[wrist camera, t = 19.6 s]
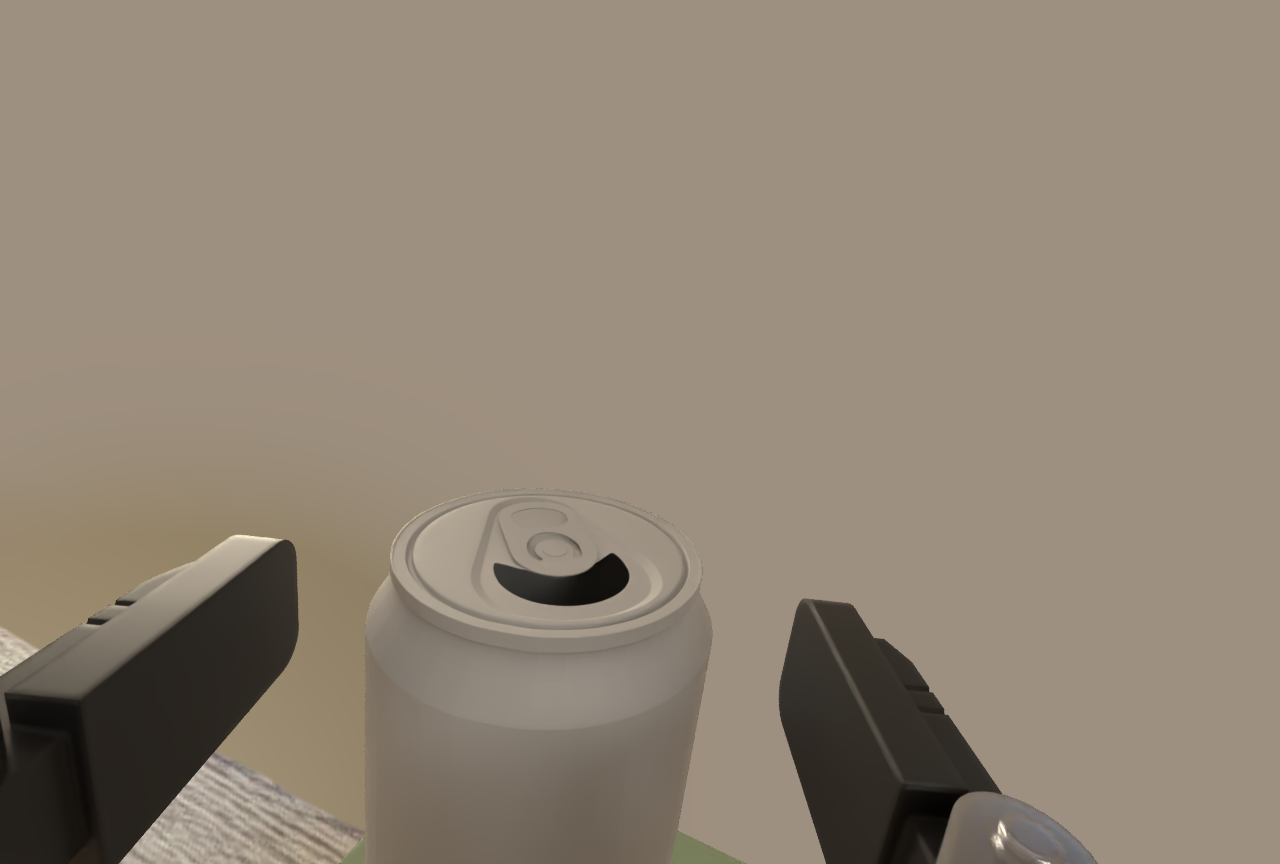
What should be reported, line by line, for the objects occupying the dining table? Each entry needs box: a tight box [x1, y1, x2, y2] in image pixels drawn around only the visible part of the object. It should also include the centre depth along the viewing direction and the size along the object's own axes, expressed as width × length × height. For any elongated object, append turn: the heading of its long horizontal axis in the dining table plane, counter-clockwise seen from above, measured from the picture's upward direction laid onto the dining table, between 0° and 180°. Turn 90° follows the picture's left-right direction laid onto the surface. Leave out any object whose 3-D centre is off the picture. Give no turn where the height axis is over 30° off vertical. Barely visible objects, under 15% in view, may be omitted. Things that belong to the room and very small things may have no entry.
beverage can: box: [365, 488, 712, 864], centre depth 13 cm, size 6×6×12 cm
